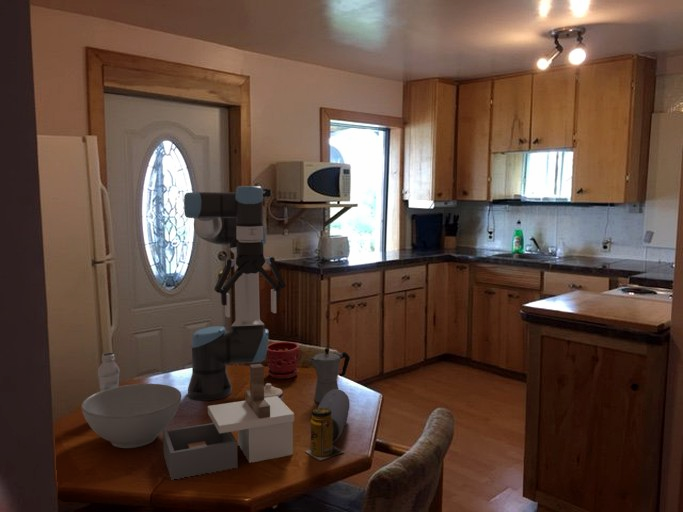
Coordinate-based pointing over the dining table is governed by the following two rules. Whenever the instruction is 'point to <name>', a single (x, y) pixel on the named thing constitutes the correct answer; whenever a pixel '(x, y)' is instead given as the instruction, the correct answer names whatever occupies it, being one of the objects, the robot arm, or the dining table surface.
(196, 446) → the terracotta tile
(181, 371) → the dining table surface
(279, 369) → the plant pot
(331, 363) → the coffeepot
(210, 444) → the box
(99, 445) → the dining table surface
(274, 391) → the teacup with lid
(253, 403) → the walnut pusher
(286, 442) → the board
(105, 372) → the plastic bottle
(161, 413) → the decorative bowl
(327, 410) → the condiment
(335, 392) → the bluetooth speaker
